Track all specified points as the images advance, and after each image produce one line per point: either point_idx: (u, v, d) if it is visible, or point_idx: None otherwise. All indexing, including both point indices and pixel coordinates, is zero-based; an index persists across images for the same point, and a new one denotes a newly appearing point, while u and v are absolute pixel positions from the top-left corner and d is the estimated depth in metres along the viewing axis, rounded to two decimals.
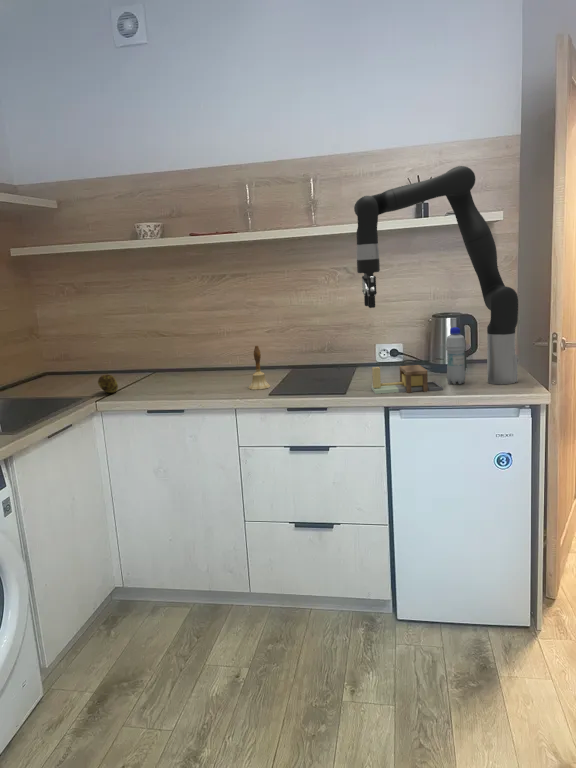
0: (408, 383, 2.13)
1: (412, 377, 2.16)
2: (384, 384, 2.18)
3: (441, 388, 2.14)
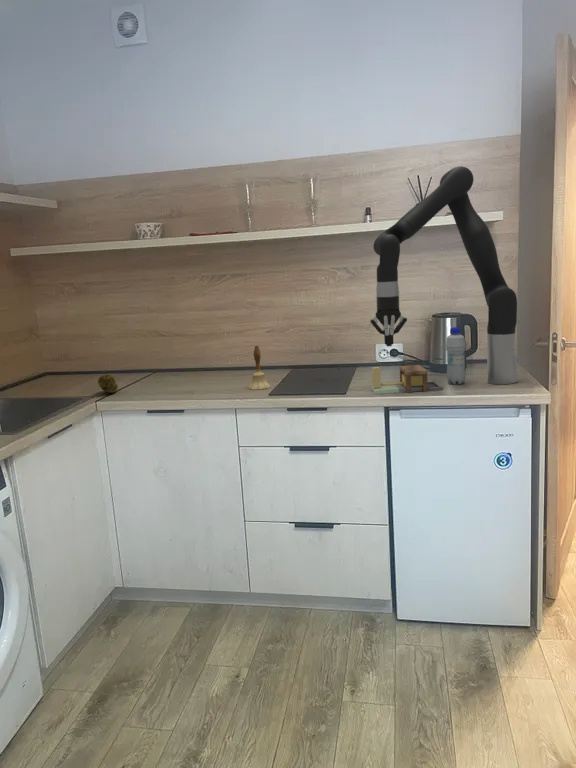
0: (408, 383, 2.13)
1: (412, 377, 2.16)
2: (384, 384, 2.18)
3: (441, 388, 2.14)
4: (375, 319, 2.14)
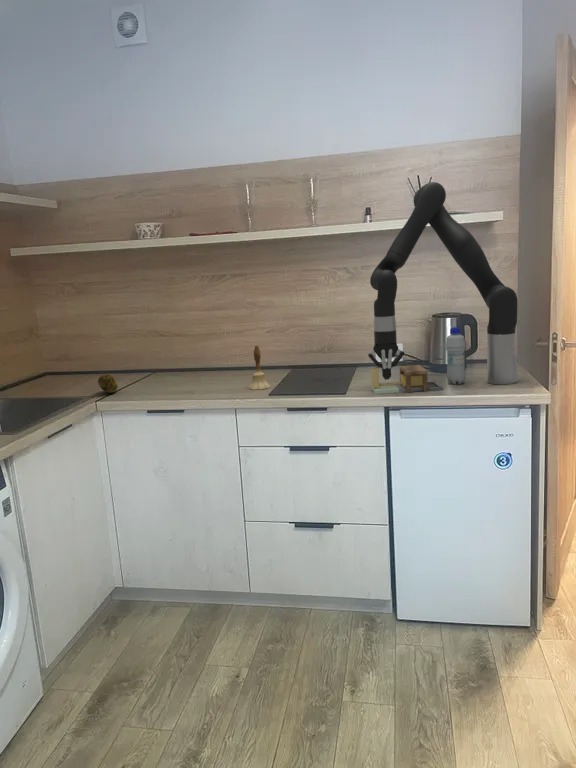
0: (408, 383, 2.13)
1: (411, 377, 2.16)
2: (383, 384, 2.18)
3: (441, 388, 2.14)
4: (373, 353, 2.16)
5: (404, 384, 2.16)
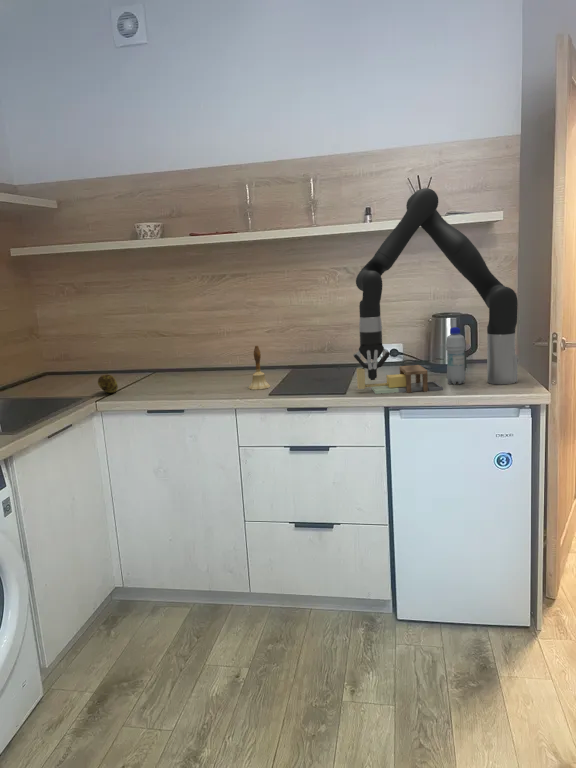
0: (408, 383, 2.13)
1: (396, 378, 2.16)
2: (368, 385, 2.18)
3: (441, 388, 2.14)
4: (358, 354, 2.16)
5: (390, 385, 2.16)
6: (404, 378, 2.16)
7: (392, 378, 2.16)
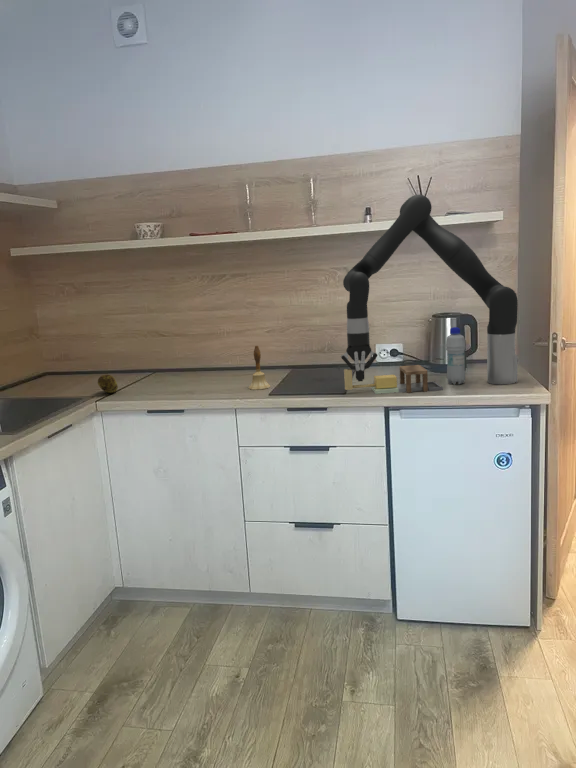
0: (408, 383, 2.13)
1: (384, 379, 2.16)
2: (356, 386, 2.18)
3: (441, 388, 2.14)
4: (346, 355, 2.16)
5: (377, 386, 2.16)
6: (391, 379, 2.16)
7: (379, 379, 2.16)
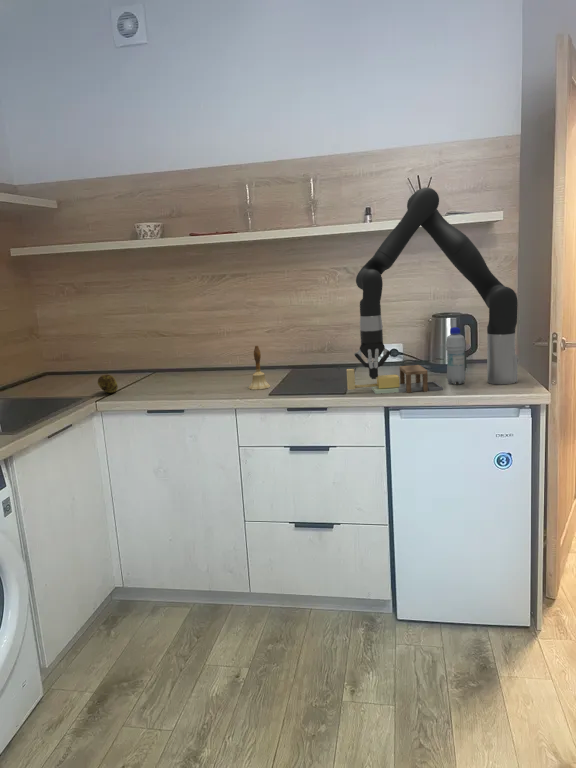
0: (408, 383, 2.13)
1: (386, 379, 2.16)
2: (358, 386, 2.18)
3: (441, 388, 2.14)
4: (359, 353, 2.16)
5: (380, 386, 2.16)
6: (394, 379, 2.16)
7: (382, 379, 2.16)
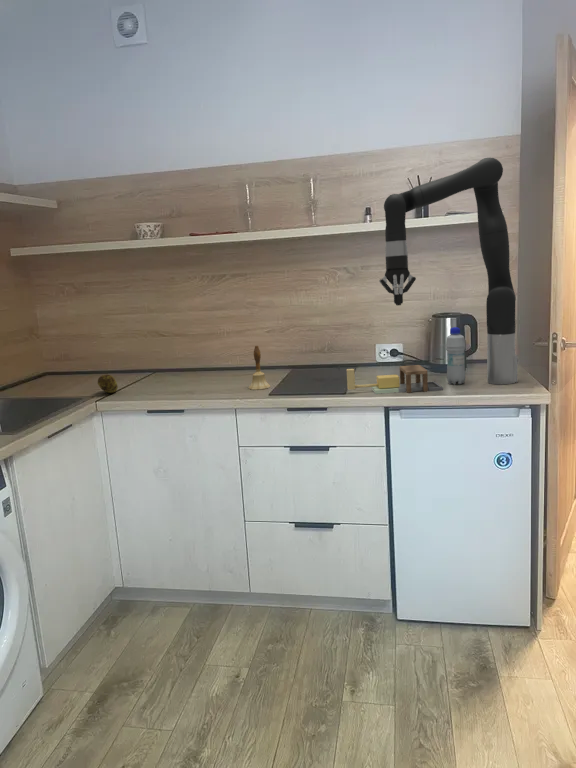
0: (408, 383, 2.13)
1: (386, 379, 2.16)
2: (358, 386, 2.18)
3: (441, 388, 2.14)
4: (384, 279, 2.18)
5: (380, 386, 2.16)
6: (394, 379, 2.16)
7: (382, 379, 2.16)
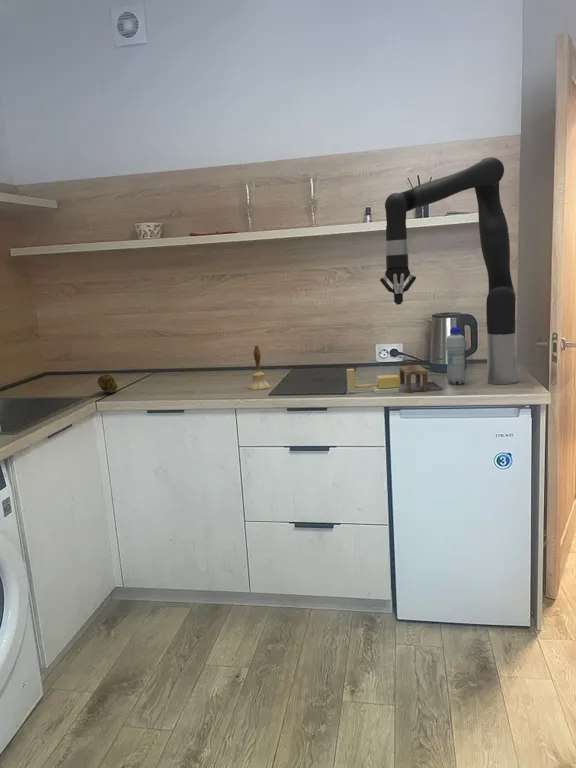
0: (408, 383, 2.13)
1: (386, 379, 2.16)
2: (358, 386, 2.18)
3: (441, 388, 2.14)
4: (385, 278, 2.18)
5: (380, 386, 2.16)
6: (394, 379, 2.16)
7: (382, 379, 2.16)
